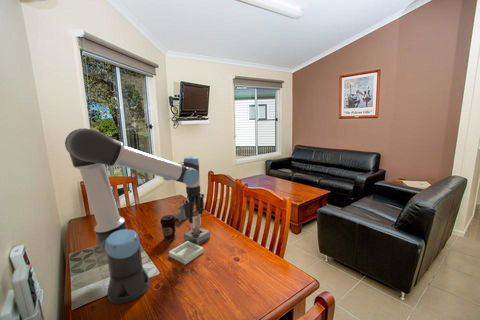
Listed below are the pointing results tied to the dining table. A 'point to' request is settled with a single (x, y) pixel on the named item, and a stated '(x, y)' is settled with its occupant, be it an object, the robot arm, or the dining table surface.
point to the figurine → (181, 213)
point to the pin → (196, 223)
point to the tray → (186, 252)
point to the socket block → (199, 238)
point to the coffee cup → (168, 227)
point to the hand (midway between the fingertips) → (195, 226)
